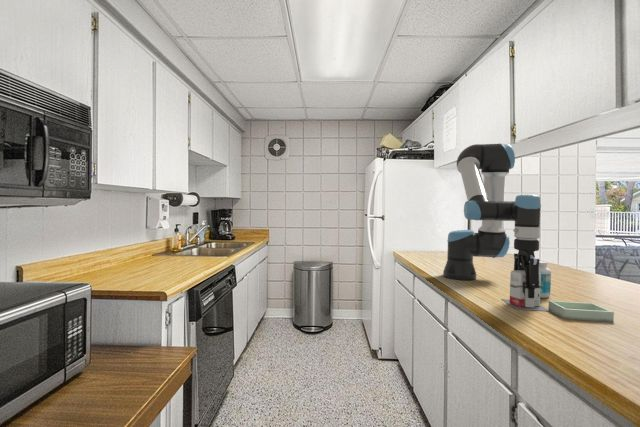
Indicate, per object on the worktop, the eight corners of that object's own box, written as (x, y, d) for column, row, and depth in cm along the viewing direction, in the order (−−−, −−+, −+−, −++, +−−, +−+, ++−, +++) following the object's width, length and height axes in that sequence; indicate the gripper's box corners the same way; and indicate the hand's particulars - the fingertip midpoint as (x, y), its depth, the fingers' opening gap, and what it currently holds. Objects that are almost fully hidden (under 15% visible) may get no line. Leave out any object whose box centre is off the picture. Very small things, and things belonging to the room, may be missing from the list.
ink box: (519, 307, 111) (520, 273, 111) (508, 303, 116) (509, 270, 116) (541, 306, 113) (542, 272, 113) (529, 302, 118) (530, 269, 118)
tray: (548, 309, 110) (548, 300, 110) (592, 312, 108) (593, 303, 108) (564, 318, 101) (565, 309, 101) (613, 321, 99) (613, 312, 99)
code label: (501, 299, 121) (501, 299, 121) (533, 301, 120) (533, 300, 120) (515, 309, 110) (515, 308, 110) (551, 311, 108) (551, 311, 108)
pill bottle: (523, 294, 130) (524, 260, 129) (534, 292, 133) (535, 259, 132) (542, 299, 123) (543, 263, 122) (554, 297, 126) (555, 262, 126)
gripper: (504, 236, 124) (502, 296, 125) (527, 241, 105) (525, 311, 106) (525, 236, 123) (523, 297, 124) (553, 242, 104) (551, 313, 105)
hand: (524, 303), depth 115 cm, fingers closed on ink box, 6 cm apart
